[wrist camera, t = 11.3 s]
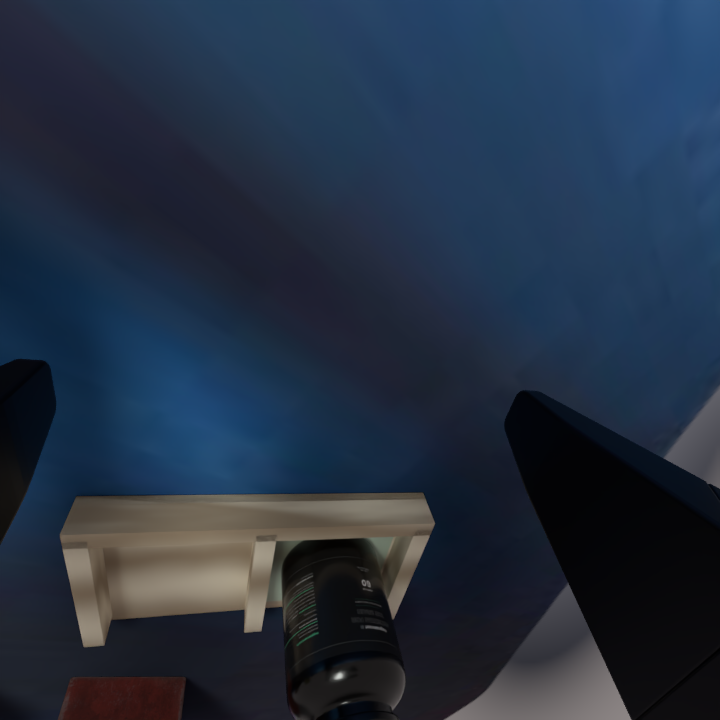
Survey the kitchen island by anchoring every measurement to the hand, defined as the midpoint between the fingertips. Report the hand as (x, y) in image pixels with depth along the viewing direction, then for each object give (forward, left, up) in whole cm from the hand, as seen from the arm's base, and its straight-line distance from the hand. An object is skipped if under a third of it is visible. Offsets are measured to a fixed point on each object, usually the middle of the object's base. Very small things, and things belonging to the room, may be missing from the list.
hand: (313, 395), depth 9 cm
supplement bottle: (+6, -23, -12) cm, 27 cm away
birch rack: (+1, -24, -13) cm, 27 cm away
